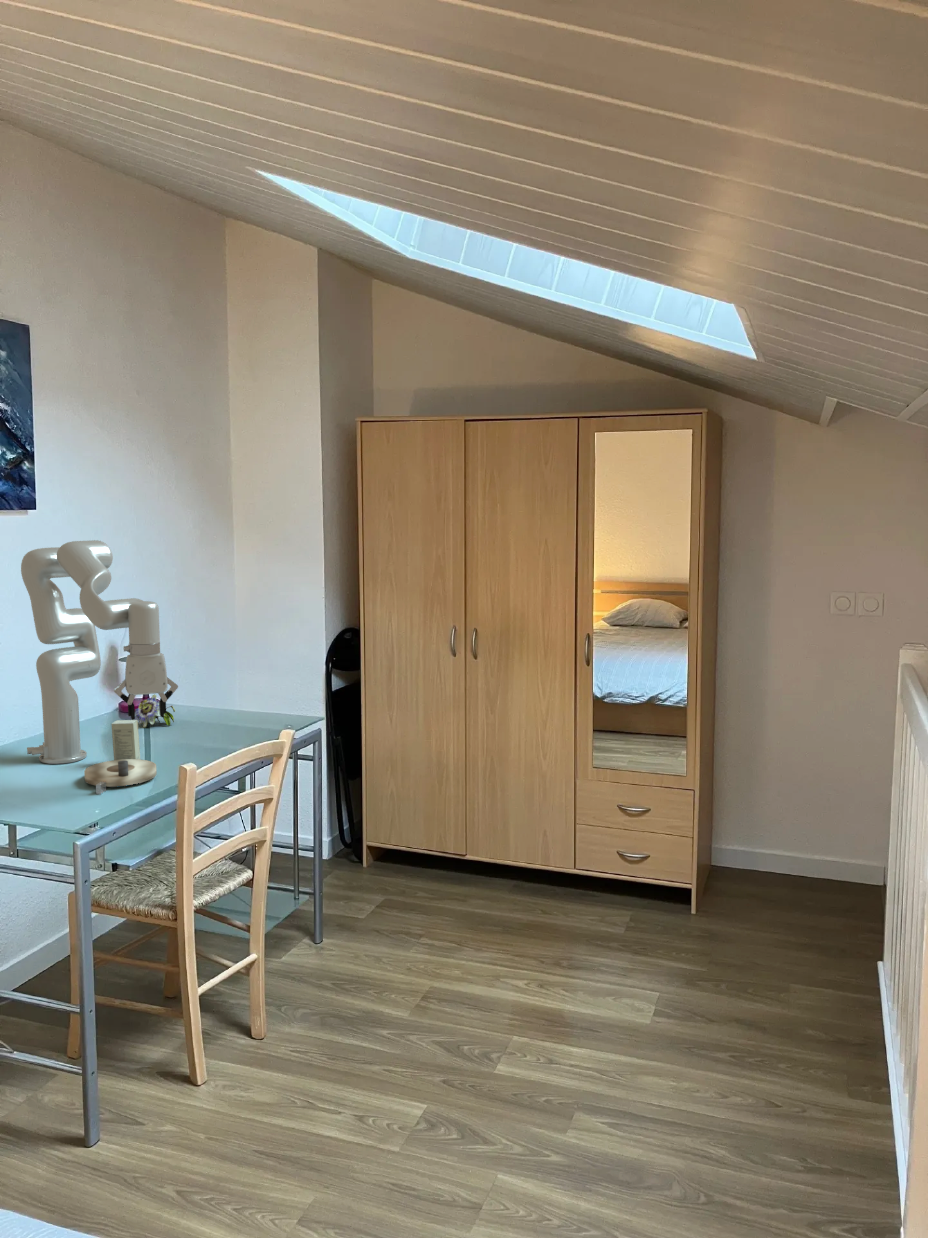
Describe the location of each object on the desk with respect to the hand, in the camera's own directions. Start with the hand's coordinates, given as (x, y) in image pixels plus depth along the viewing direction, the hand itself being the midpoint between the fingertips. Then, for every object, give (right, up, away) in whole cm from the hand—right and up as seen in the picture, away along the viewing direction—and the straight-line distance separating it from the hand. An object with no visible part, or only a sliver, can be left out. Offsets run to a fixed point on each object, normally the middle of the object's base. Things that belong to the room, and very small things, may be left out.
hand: (147, 717), depth 255 cm
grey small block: (-10, -19, -6) cm, 22 cm away
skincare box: (-12, -15, +20) cm, 28 cm away
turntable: (-9, -17, +5) cm, 20 cm away
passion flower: (-19, -9, +66) cm, 70 cm away
